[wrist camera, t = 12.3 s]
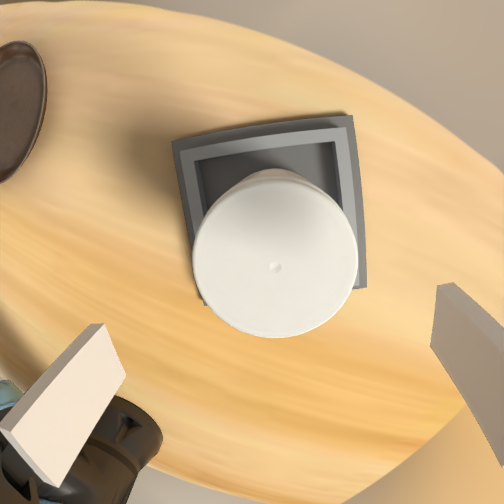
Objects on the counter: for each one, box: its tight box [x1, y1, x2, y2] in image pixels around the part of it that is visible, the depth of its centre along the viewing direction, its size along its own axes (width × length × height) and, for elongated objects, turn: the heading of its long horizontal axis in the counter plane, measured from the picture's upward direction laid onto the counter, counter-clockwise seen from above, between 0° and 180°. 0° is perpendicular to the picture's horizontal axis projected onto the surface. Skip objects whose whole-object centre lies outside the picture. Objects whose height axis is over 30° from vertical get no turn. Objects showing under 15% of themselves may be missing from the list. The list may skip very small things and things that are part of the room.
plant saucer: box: [0, 41, 47, 184], centre depth 29 cm, size 21×21×3 cm
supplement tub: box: [192, 168, 358, 338], centre depth 24 cm, size 10×10×15 cm
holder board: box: [172, 115, 367, 306], centre depth 30 cm, size 18×18×3 cm
